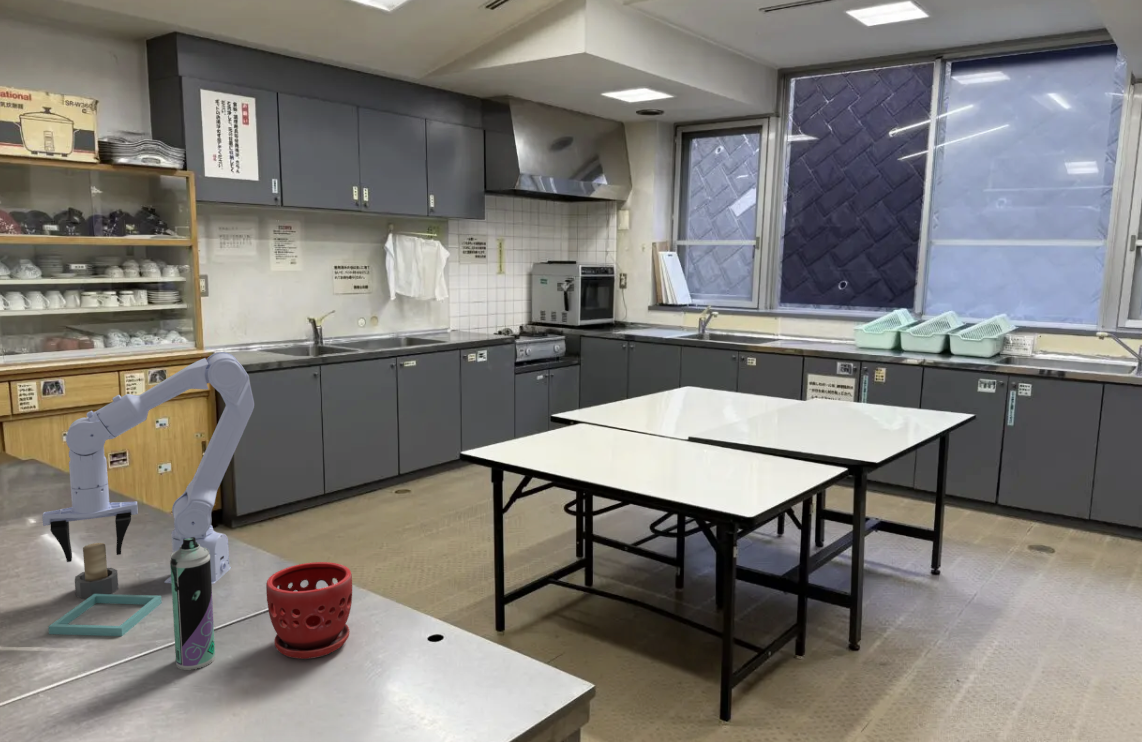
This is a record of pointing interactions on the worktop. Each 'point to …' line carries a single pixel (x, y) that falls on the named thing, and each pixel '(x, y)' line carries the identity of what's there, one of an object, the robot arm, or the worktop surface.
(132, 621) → the teal tray
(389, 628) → the worktop surface
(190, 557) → the spray can
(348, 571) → the plant pot
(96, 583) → the dark gray cup
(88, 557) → the birch dowel
